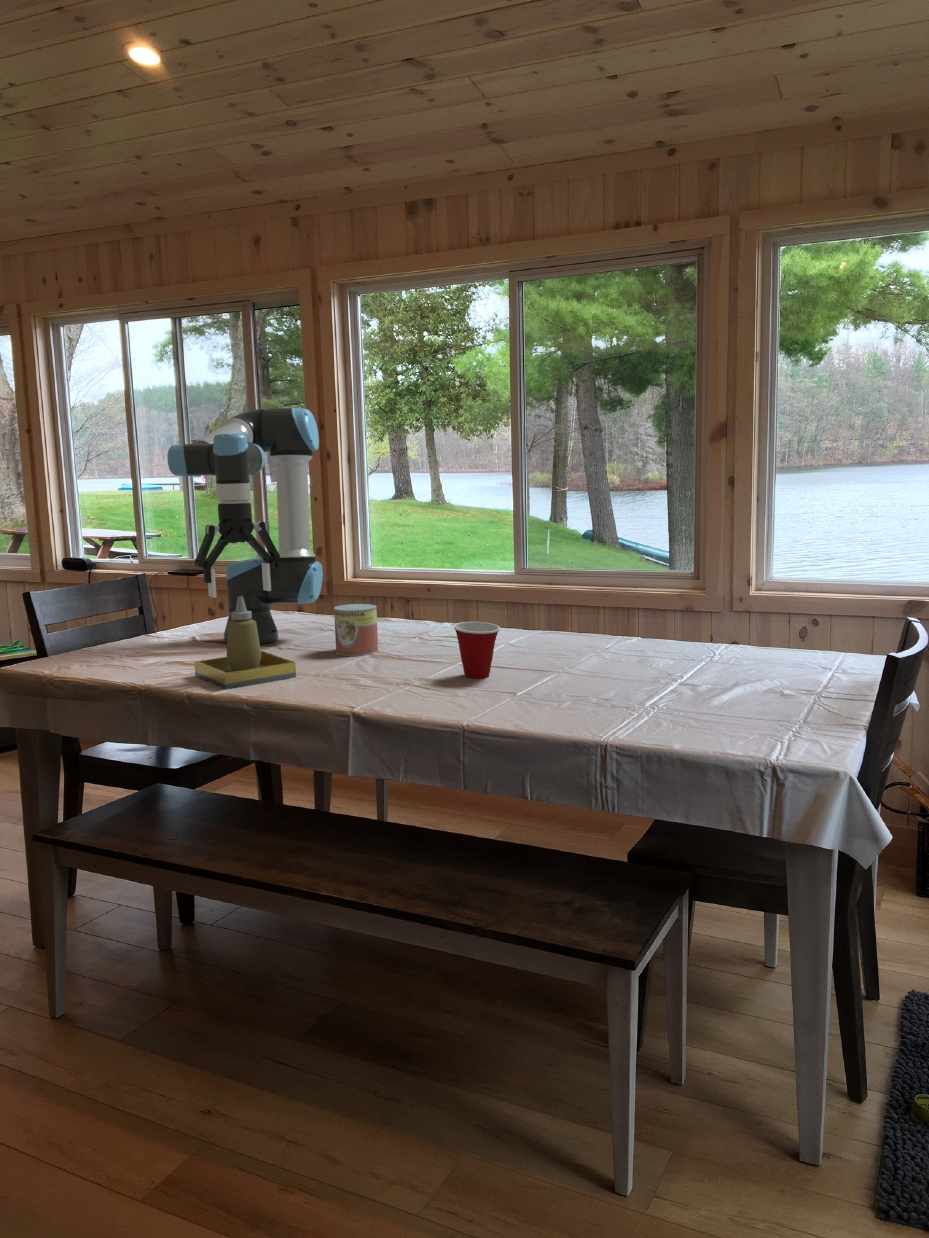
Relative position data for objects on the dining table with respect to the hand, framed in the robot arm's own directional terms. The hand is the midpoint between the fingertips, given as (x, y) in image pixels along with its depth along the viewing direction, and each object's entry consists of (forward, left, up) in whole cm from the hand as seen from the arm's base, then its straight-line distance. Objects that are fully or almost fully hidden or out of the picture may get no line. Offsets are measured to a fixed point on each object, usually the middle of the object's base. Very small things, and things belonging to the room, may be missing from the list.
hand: (240, 593), depth 217 cm
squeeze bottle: (0, 0, -19) cm, 19 cm away
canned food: (-35, -7, -20) cm, 41 cm away
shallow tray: (0, 0, -20) cm, 20 cm away
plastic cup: (-41, +37, -20) cm, 59 cm away
